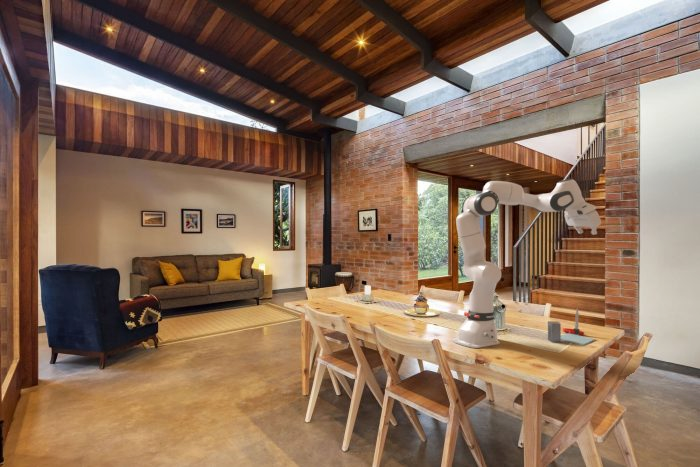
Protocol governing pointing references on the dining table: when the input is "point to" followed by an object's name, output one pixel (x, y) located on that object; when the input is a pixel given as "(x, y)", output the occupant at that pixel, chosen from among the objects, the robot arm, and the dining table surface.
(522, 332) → the dining table surface
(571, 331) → the tow hook
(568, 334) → the pad
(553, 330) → the link block
